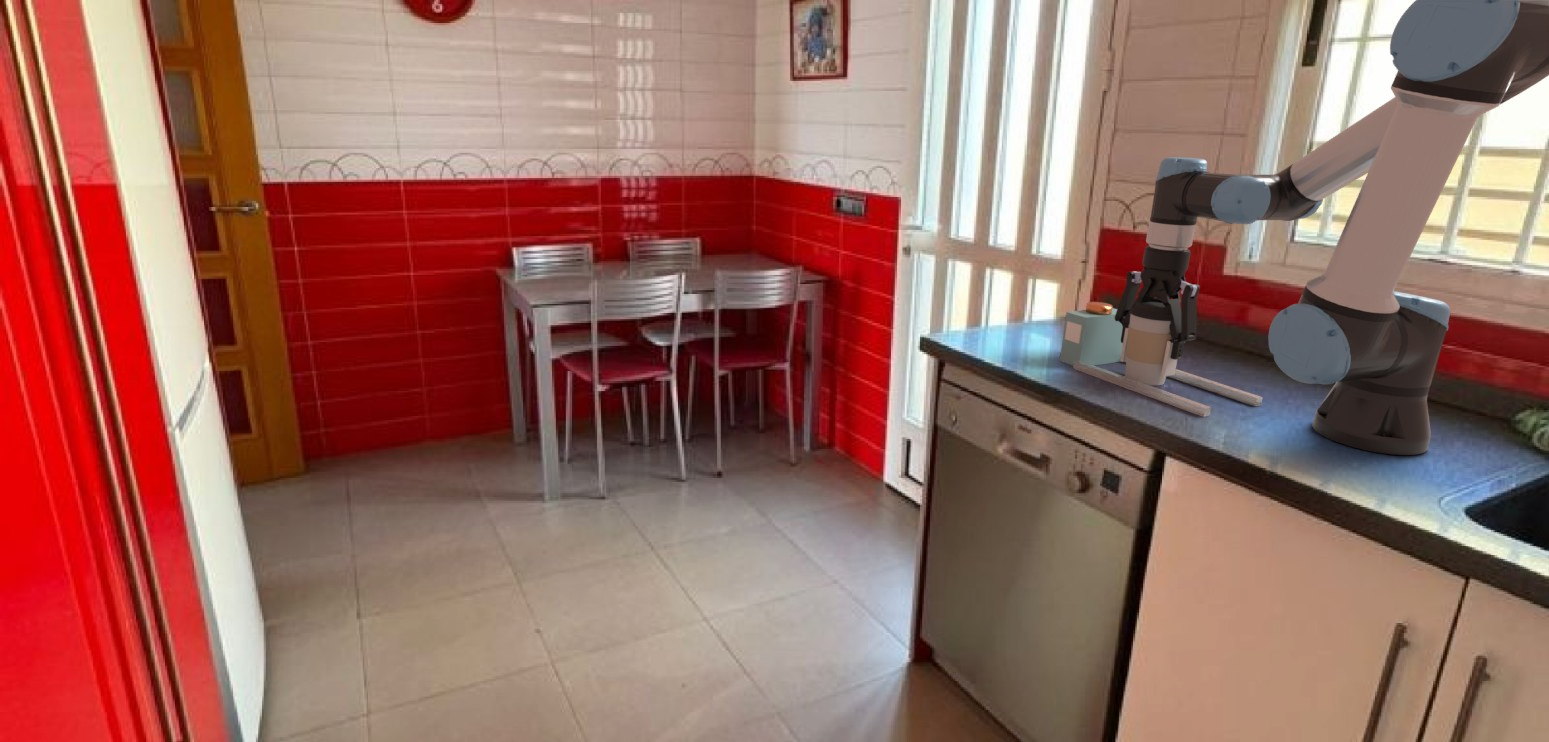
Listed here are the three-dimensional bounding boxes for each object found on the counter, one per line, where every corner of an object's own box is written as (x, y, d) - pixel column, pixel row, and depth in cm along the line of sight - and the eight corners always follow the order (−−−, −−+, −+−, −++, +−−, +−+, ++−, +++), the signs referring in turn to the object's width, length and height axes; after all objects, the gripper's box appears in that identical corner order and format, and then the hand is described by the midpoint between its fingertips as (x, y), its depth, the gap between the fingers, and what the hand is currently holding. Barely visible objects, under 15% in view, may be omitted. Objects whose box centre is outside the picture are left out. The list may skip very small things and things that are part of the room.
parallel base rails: (1260, 405, 145) (1262, 397, 145) (1203, 417, 139) (1205, 408, 138) (1127, 360, 169) (1128, 353, 169) (1073, 368, 163) (1074, 361, 162)
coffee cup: (1176, 389, 152) (1191, 309, 148) (1123, 384, 154) (1137, 304, 149) (1164, 374, 161) (1178, 298, 156) (1114, 370, 162) (1127, 294, 158)
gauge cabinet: (1122, 361, 169) (1130, 312, 166) (1077, 367, 163) (1085, 317, 160) (1102, 354, 173) (1110, 307, 170) (1058, 360, 168) (1065, 312, 165)
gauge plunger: (1113, 338, 166) (1118, 306, 164) (1095, 340, 164) (1100, 308, 162) (1094, 332, 170) (1098, 301, 168) (1076, 334, 168) (1081, 303, 166)
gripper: (1236, 256, 142) (1211, 382, 149) (1134, 236, 160) (1115, 350, 167) (1207, 258, 139) (1182, 387, 146) (1105, 238, 157) (1087, 354, 164)
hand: (1146, 367), depth 157 cm, fingers closed on coffee cup, 8 cm apart
